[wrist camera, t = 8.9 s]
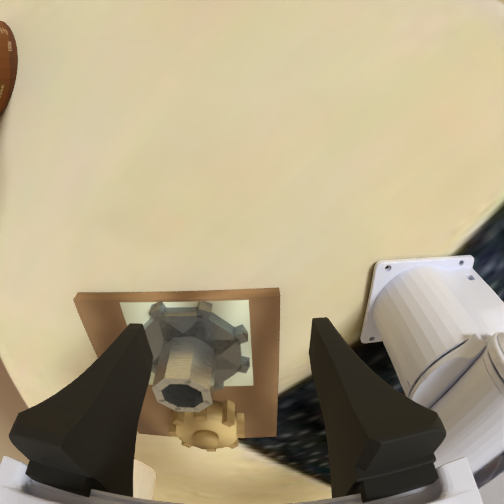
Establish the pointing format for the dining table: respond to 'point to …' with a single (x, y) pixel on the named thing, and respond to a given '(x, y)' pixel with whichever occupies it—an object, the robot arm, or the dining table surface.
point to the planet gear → (192, 354)
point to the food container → (7, 64)
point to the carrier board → (235, 388)
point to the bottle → (143, 481)
